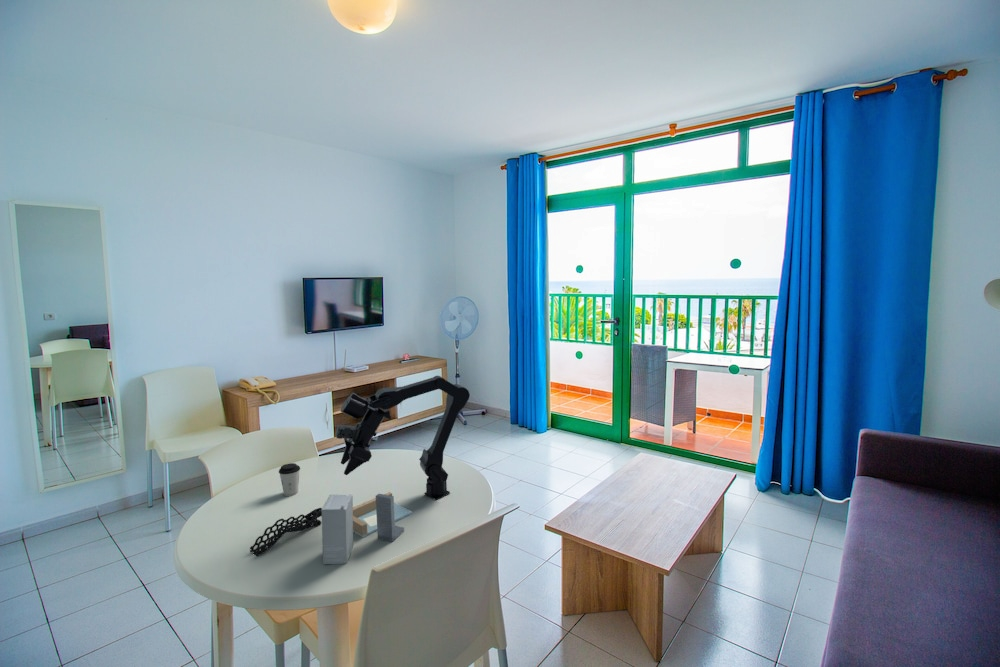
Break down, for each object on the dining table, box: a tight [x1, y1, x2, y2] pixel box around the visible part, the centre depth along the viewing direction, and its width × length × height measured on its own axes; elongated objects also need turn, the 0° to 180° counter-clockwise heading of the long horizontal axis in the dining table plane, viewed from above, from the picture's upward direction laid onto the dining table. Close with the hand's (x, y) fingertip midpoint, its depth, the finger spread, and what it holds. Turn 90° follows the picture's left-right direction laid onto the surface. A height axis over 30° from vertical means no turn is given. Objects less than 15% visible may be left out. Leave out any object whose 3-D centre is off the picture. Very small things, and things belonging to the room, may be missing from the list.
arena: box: [353, 491, 413, 538], centre depth 144 cm, size 18×12×4 cm, turn 139°
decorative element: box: [249, 507, 323, 557], centre depth 135 cm, size 22×5×6 cm, turn 148°
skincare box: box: [321, 493, 354, 565], centre depth 124 cm, size 8×7×16 cm
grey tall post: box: [375, 493, 405, 543], centre depth 134 cm, size 6×5×13 cm
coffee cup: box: [278, 462, 301, 497], centre depth 163 cm, size 7×7×10 cm
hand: (343, 469), depth 146 cm, fingers open, 9 cm apart
